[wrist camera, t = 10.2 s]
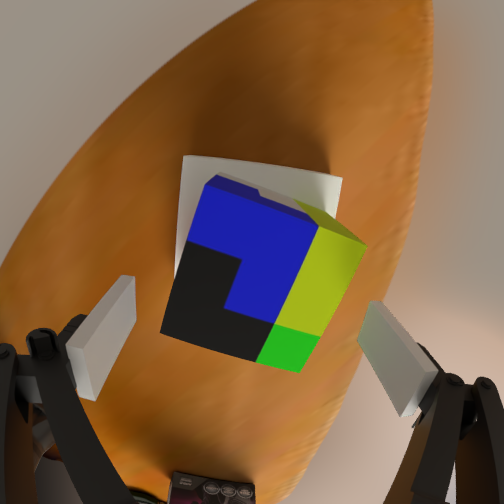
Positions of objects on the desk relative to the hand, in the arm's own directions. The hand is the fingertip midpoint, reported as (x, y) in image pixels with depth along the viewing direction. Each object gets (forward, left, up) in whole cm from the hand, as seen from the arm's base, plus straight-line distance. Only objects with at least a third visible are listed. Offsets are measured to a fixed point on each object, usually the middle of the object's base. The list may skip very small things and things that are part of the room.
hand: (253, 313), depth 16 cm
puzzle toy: (0, 0, -12) cm, 12 cm away
